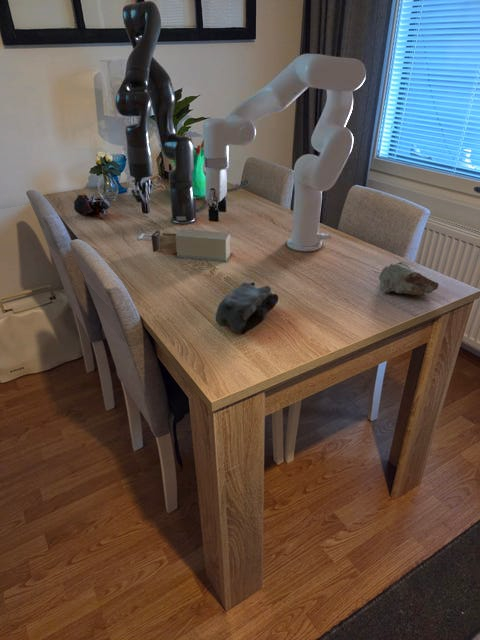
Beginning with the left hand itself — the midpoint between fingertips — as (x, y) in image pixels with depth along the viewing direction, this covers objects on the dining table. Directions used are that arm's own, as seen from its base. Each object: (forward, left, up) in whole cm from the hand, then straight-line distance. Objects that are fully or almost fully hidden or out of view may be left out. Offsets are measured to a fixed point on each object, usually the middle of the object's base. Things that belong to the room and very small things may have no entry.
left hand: (145, 212), depth 151 cm
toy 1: (-7, -47, -14) cm, 49 cm away
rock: (+14, +57, -14) cm, 60 cm away
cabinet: (-9, +18, -14) cm, 24 cm away
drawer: (-3, +7, -13) cm, 15 cm away
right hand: (-12, +22, +1) cm, 26 cm away
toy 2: (-57, -38, -14) cm, 70 cm away
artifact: (-31, +80, -14) cm, 87 cm away
